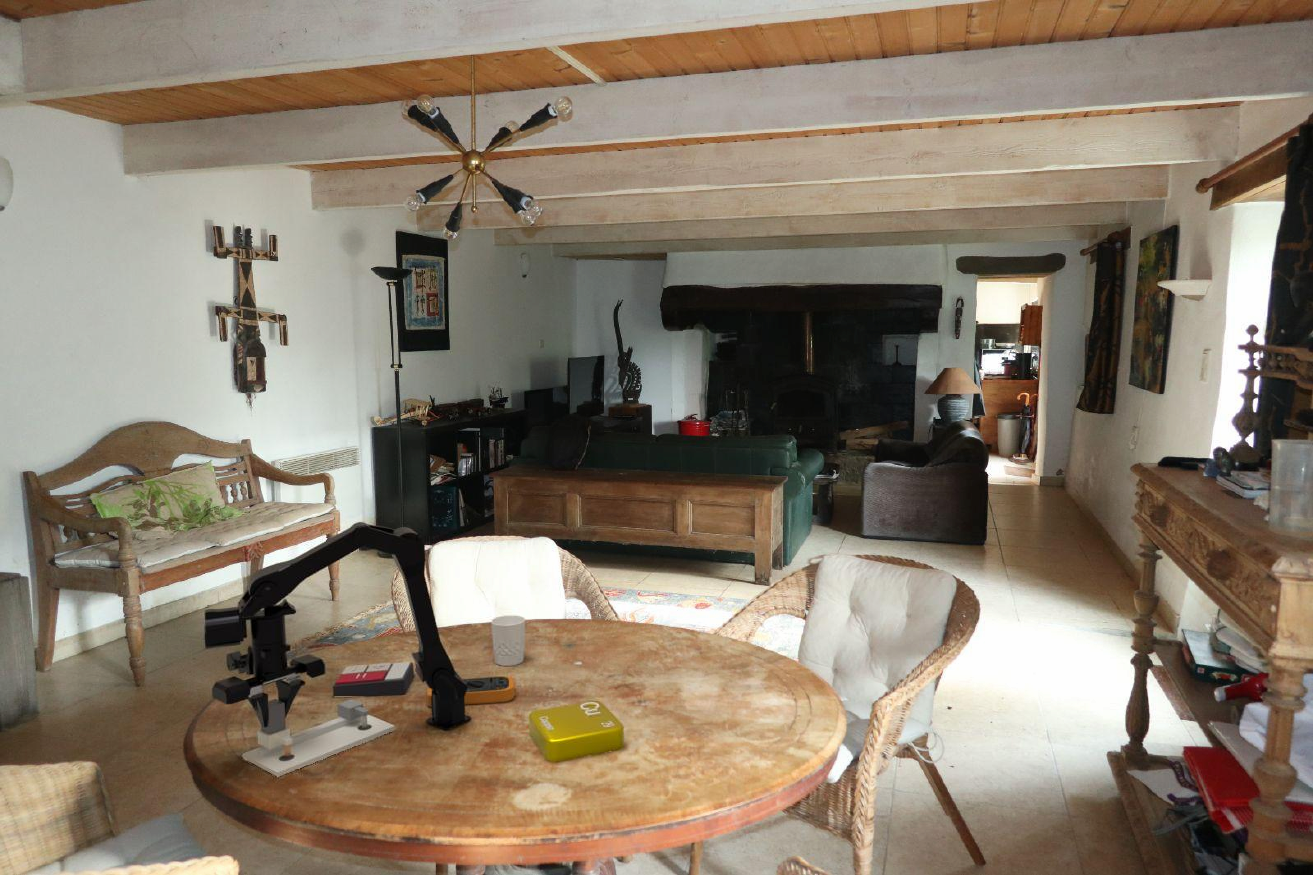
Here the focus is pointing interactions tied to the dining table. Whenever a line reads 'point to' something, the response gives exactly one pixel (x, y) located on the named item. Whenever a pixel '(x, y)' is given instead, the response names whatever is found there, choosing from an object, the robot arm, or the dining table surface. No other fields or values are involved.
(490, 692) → the multimeter
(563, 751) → the element tile
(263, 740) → the block
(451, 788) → the dining table surface
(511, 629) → the white cup
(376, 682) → the calculator
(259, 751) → the plate
